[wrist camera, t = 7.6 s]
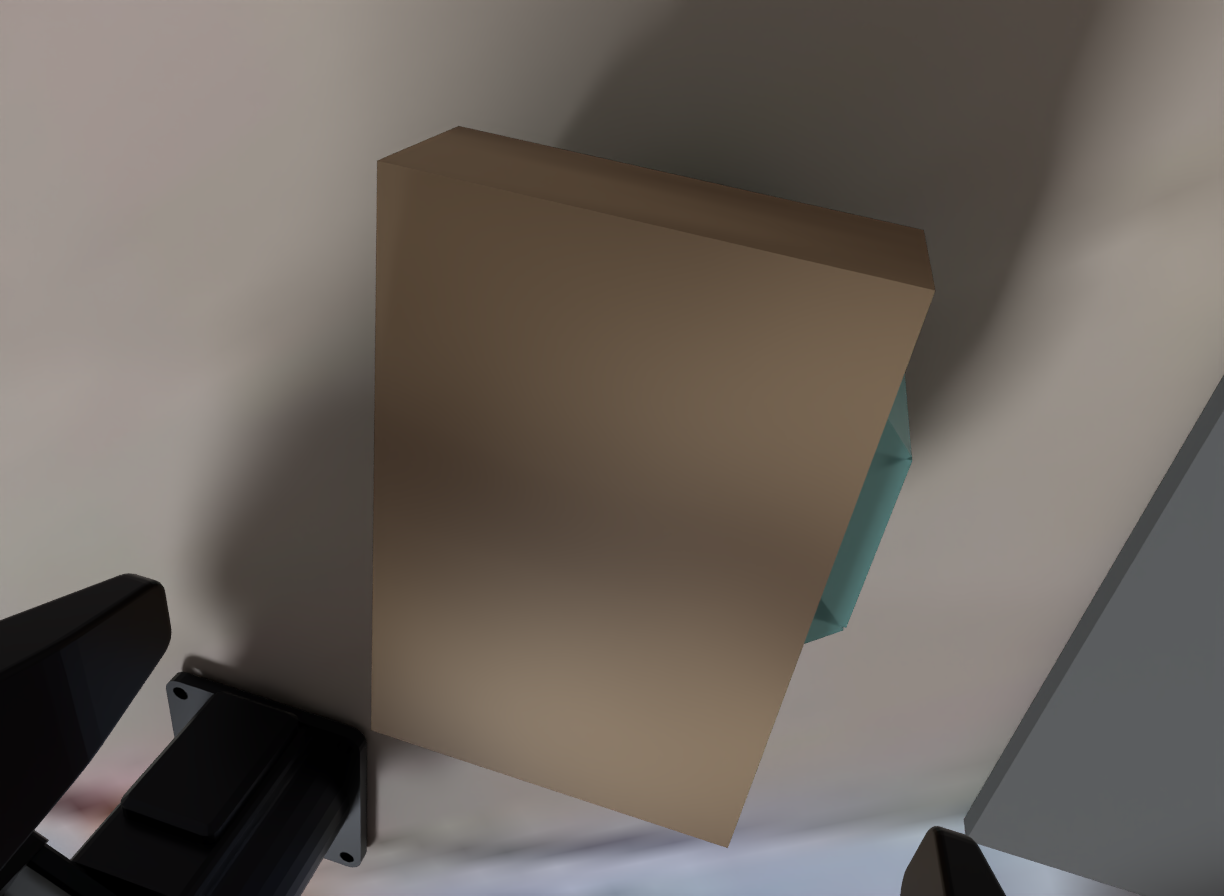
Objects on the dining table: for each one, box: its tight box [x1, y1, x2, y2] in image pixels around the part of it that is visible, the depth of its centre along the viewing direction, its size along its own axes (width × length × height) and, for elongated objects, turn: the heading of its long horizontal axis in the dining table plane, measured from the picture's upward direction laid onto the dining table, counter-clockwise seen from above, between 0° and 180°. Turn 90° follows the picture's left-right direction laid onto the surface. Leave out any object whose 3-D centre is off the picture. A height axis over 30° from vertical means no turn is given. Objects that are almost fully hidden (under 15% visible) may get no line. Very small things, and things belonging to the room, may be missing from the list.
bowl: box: [804, 374, 912, 644], centre depth 16 cm, size 8×8×4 cm
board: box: [371, 126, 935, 848], centre depth 13 cm, size 10×6×2 cm, turn 171°
